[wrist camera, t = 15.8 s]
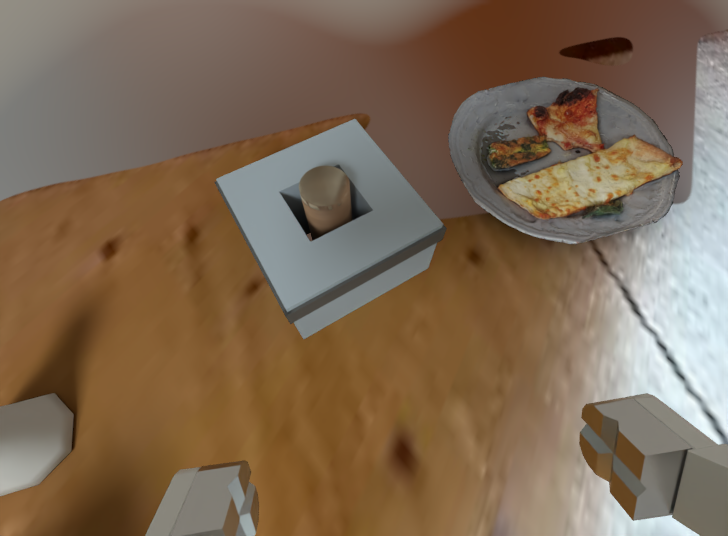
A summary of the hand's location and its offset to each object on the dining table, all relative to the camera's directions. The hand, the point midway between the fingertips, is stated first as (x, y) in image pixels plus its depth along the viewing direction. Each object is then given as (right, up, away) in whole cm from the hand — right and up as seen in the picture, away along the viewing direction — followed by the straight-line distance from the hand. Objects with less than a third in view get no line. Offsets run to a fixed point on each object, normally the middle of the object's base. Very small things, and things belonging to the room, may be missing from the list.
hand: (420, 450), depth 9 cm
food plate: (+21, +17, +34) cm, 43 cm away
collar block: (-5, +7, +28) cm, 30 cm away
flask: (-29, -10, +21) cm, 37 cm away
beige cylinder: (-4, +7, +29) cm, 30 cm away
